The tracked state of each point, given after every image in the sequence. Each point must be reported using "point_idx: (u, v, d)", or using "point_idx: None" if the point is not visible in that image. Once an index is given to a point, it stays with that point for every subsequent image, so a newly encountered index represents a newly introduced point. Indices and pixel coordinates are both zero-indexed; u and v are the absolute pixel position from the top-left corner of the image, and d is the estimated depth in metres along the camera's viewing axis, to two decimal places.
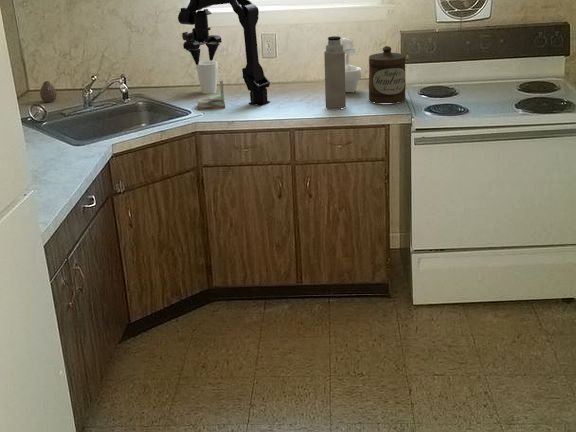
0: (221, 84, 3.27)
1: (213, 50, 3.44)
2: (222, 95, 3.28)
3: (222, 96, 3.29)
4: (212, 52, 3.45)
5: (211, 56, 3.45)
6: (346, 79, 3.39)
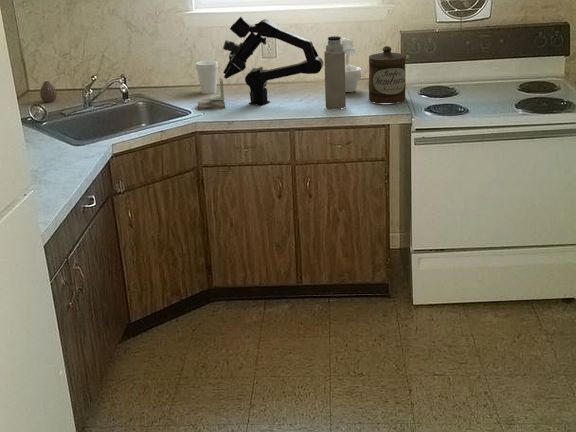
0: (221, 84, 3.27)
1: None
2: (222, 95, 3.28)
3: (222, 96, 3.29)
4: None
5: (228, 70, 3.32)
6: (346, 79, 3.39)
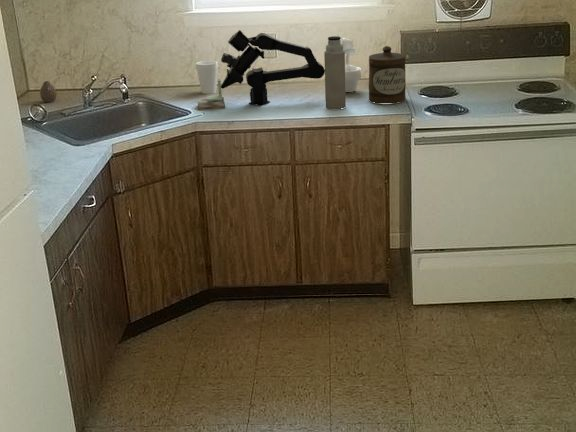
0: (219, 84, 3.27)
1: None
2: (220, 95, 3.28)
3: (220, 96, 3.28)
4: None
5: None
6: (346, 79, 3.39)
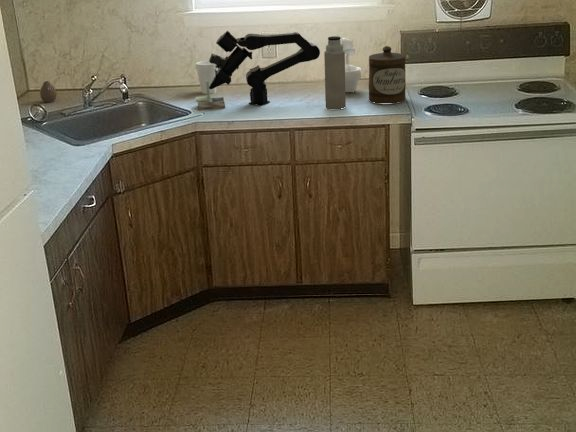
0: (207, 85, 3.26)
1: None
2: (208, 96, 3.28)
3: (208, 97, 3.28)
4: None
5: None
6: (346, 79, 3.39)
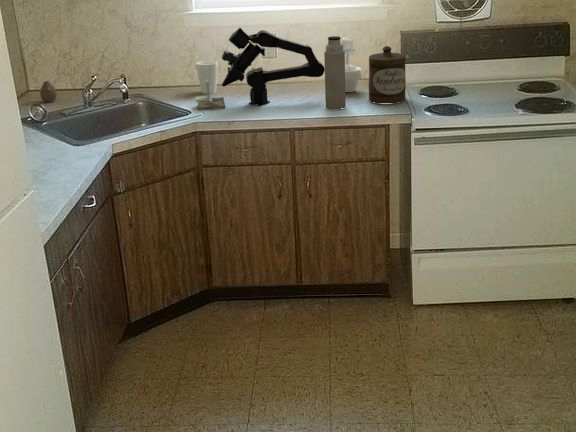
0: (207, 85, 3.26)
1: None
2: (208, 96, 3.28)
3: (208, 97, 3.28)
4: None
5: None
6: (346, 79, 3.39)
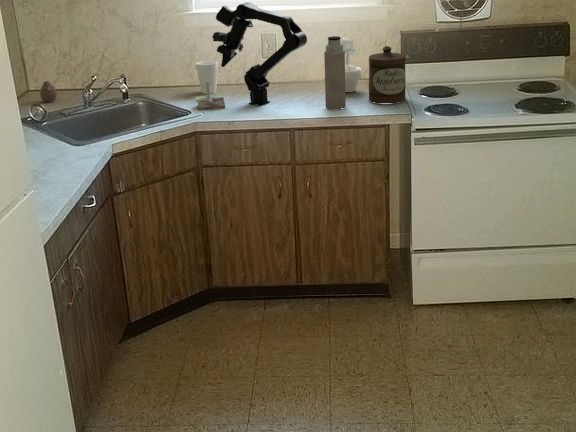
0: (207, 85, 3.26)
1: None
2: (208, 96, 3.28)
3: (208, 97, 3.28)
4: None
5: None
6: (346, 79, 3.39)
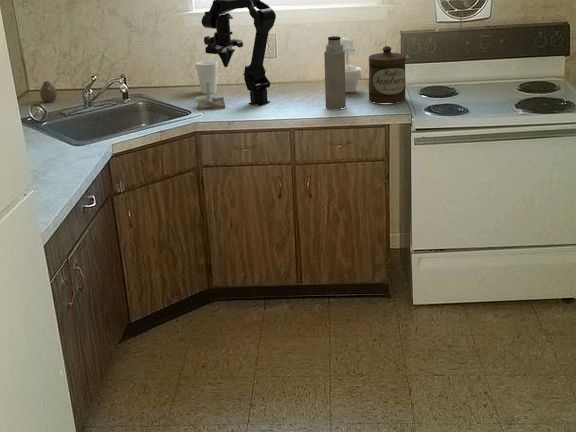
0: (207, 85, 3.26)
1: None
2: (208, 96, 3.28)
3: (208, 97, 3.28)
4: None
5: None
6: (346, 79, 3.39)
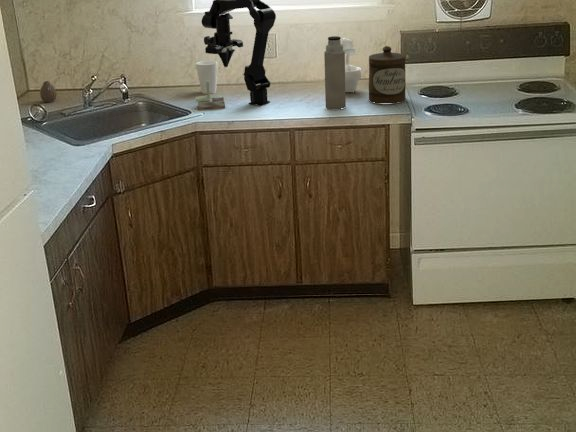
0: (207, 85, 3.26)
1: None
2: (208, 96, 3.28)
3: (208, 97, 3.28)
4: None
5: None
6: (346, 79, 3.39)
